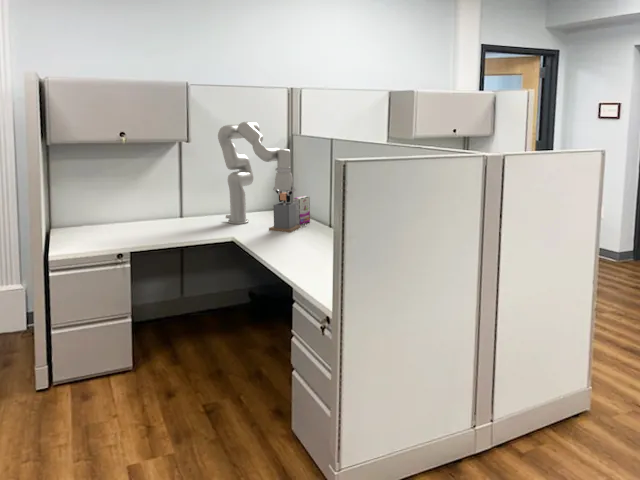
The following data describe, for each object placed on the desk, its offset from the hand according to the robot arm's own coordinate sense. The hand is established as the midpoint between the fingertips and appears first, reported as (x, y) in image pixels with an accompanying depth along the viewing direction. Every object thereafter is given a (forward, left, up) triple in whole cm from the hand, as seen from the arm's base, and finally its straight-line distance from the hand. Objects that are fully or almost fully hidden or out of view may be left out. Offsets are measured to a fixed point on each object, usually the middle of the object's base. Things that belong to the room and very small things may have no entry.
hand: (284, 201), depth 350 cm
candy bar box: (+2, +20, -17) cm, 26 cm away
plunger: (0, 0, -14) cm, 14 cm away
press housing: (0, 0, -16) cm, 16 cm away
